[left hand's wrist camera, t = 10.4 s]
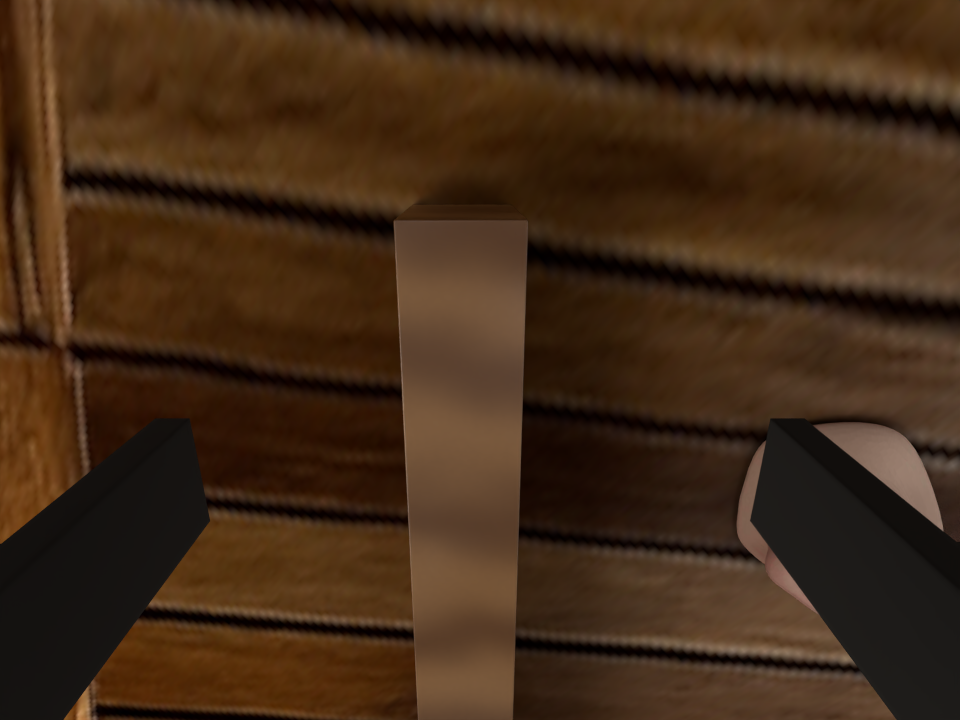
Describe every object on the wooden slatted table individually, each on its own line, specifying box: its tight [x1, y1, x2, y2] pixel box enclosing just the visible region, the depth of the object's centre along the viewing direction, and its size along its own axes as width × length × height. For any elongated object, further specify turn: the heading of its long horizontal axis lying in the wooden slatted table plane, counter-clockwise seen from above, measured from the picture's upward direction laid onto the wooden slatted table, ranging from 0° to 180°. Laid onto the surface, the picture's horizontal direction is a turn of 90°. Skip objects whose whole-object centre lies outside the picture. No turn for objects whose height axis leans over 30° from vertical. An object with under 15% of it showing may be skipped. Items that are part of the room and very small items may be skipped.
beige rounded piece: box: [737, 422, 943, 615], centre depth 31 cm, size 13×4×12 cm
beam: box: [394, 205, 528, 720], centre depth 31 cm, size 47×5×7 cm, turn 0°
